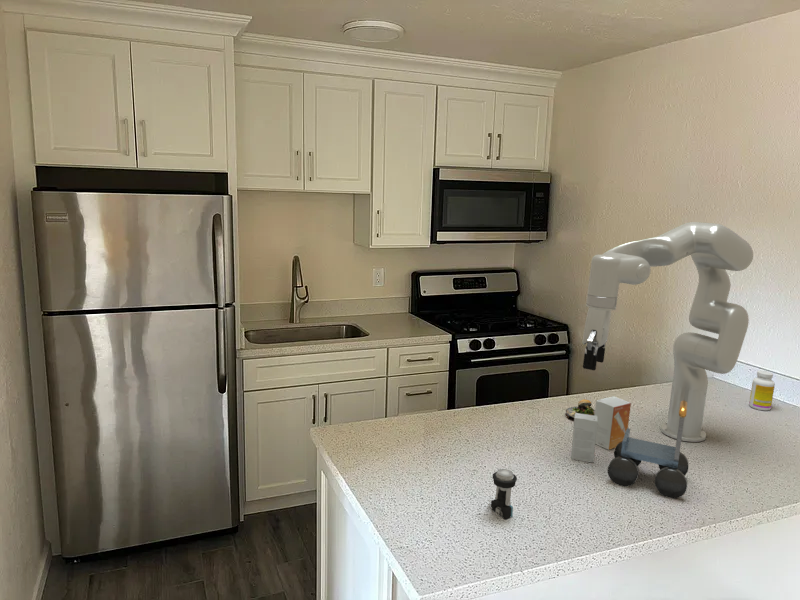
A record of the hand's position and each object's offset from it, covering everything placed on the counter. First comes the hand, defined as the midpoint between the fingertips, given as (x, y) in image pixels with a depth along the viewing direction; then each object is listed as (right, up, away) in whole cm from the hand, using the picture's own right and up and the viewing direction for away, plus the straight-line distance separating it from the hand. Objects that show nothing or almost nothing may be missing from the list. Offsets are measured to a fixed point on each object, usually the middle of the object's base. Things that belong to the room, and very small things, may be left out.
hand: (593, 365), depth 158 cm
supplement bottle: (+75, -21, +50) cm, 92 cm away
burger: (+8, -21, +34) cm, 41 cm away
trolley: (+12, -29, -7) cm, 32 cm away
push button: (-29, -31, -24) cm, 49 cm away
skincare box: (-1, -26, +5) cm, 27 cm away
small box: (+9, -25, +15) cm, 30 cm away
